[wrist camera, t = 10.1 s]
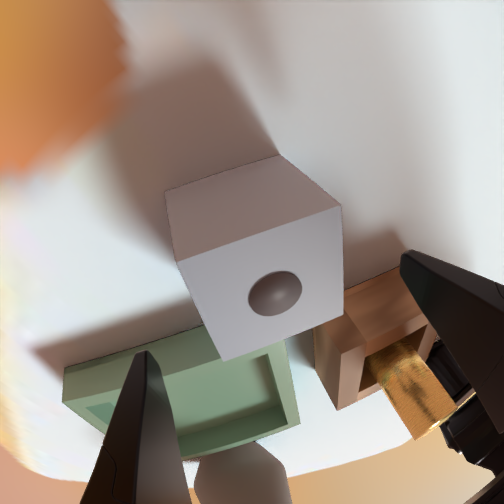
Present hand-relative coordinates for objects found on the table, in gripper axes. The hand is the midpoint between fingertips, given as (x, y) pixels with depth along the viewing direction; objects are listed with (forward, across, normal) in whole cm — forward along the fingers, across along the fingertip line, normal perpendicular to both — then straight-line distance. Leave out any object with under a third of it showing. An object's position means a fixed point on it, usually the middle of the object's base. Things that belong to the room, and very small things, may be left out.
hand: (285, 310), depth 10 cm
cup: (+6, +7, +26) cm, 27 cm away
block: (+6, 0, 0) cm, 6 cm away
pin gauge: (+5, -7, +11) cm, 14 cm away
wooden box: (+6, -7, +11) cm, 14 cm away
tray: (+6, +6, +12) cm, 14 cm away
